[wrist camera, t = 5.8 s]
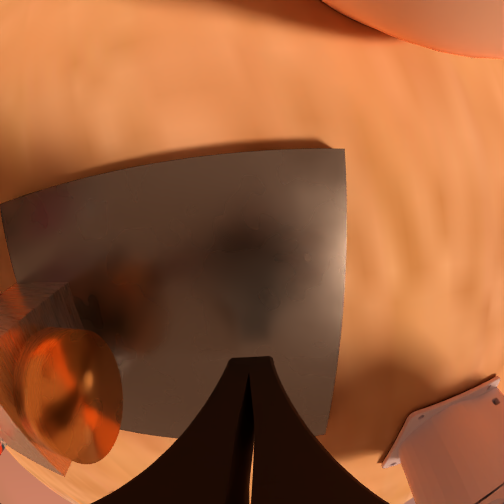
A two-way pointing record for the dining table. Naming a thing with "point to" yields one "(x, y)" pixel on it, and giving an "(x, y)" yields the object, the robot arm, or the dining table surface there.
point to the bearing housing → (184, 280)
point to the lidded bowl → (435, 23)
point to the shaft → (69, 393)
